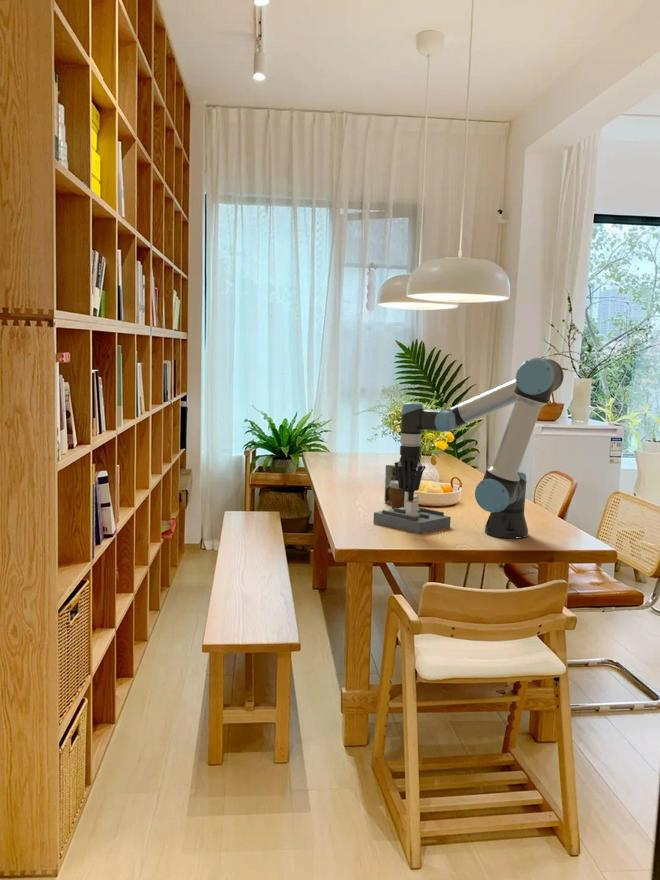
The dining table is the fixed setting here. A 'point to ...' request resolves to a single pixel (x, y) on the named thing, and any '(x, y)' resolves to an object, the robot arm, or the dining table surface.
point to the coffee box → (389, 476)
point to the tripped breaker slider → (412, 508)
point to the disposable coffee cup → (396, 495)
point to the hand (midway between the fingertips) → (407, 508)
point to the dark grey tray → (413, 519)
